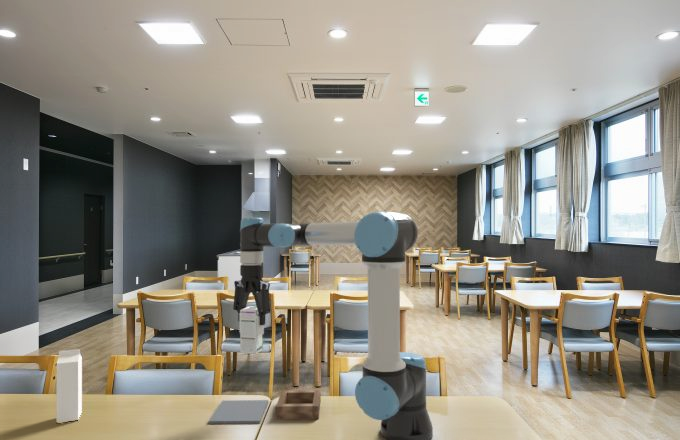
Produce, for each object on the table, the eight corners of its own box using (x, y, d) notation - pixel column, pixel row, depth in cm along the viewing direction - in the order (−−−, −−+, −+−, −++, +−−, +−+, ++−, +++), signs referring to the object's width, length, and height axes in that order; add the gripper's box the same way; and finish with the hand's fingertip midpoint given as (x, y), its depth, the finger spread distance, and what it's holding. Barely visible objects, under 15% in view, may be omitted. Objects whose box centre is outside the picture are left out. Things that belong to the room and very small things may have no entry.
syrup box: (256, 354, 141) (256, 309, 141) (239, 353, 142) (239, 308, 142) (263, 349, 146) (263, 306, 146) (246, 348, 148) (247, 305, 148)
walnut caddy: (320, 401, 151) (320, 390, 151) (318, 418, 138) (318, 406, 138) (281, 402, 151) (281, 390, 151) (276, 419, 138) (276, 406, 138)
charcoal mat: (268, 402, 151) (268, 400, 151) (260, 423, 135) (260, 420, 135) (222, 402, 151) (222, 400, 151) (208, 423, 135) (208, 421, 135)
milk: (61, 416, 141) (60, 348, 142) (82, 413, 143) (82, 346, 144) (56, 424, 136) (56, 353, 136) (78, 421, 138) (78, 351, 138)
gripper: (282, 264, 142) (282, 334, 142) (237, 261, 153) (237, 327, 152) (267, 266, 136) (267, 340, 136) (222, 263, 146) (221, 331, 146)
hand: (251, 333), depth 144 cm, fingers closed on syrup box, 7 cm apart
